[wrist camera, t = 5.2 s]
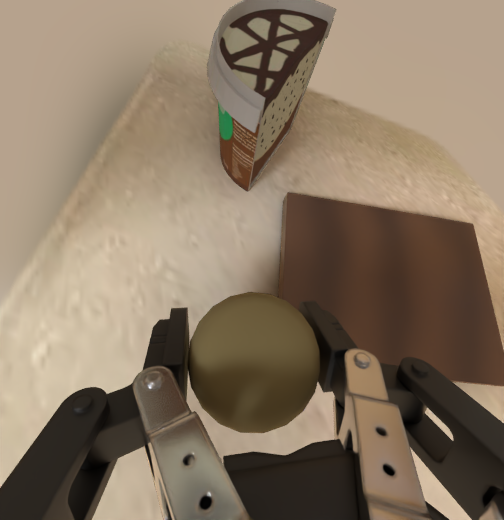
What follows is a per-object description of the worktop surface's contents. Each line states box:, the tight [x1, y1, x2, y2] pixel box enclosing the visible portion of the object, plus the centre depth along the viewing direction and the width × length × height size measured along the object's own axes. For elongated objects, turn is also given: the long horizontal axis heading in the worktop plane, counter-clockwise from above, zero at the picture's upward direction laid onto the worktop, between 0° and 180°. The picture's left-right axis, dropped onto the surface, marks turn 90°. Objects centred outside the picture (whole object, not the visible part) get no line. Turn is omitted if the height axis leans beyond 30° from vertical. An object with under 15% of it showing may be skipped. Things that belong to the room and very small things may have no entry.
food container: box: [207, 0, 336, 191], centre depth 22 cm, size 12×6×10 cm, turn 151°
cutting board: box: [278, 192, 504, 386], centre depth 23 cm, size 18×14×2 cm
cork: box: [187, 292, 320, 433], centre depth 14 cm, size 6×6×11 cm
